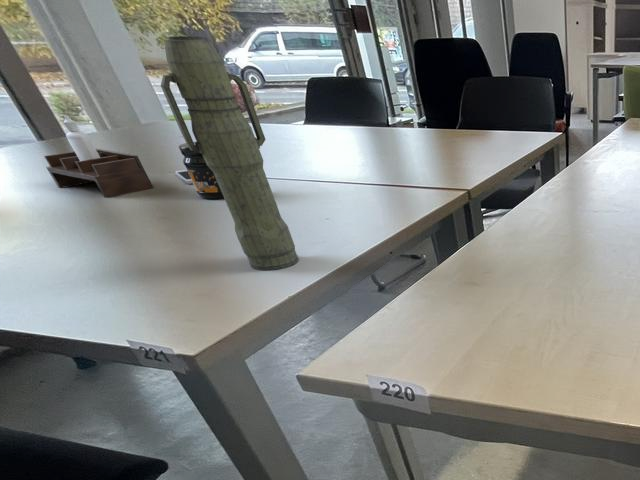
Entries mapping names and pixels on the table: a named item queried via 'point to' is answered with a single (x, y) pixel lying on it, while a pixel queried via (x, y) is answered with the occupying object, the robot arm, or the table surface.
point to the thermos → (228, 147)
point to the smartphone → (184, 176)
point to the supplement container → (200, 173)
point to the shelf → (100, 172)
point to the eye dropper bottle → (79, 141)
